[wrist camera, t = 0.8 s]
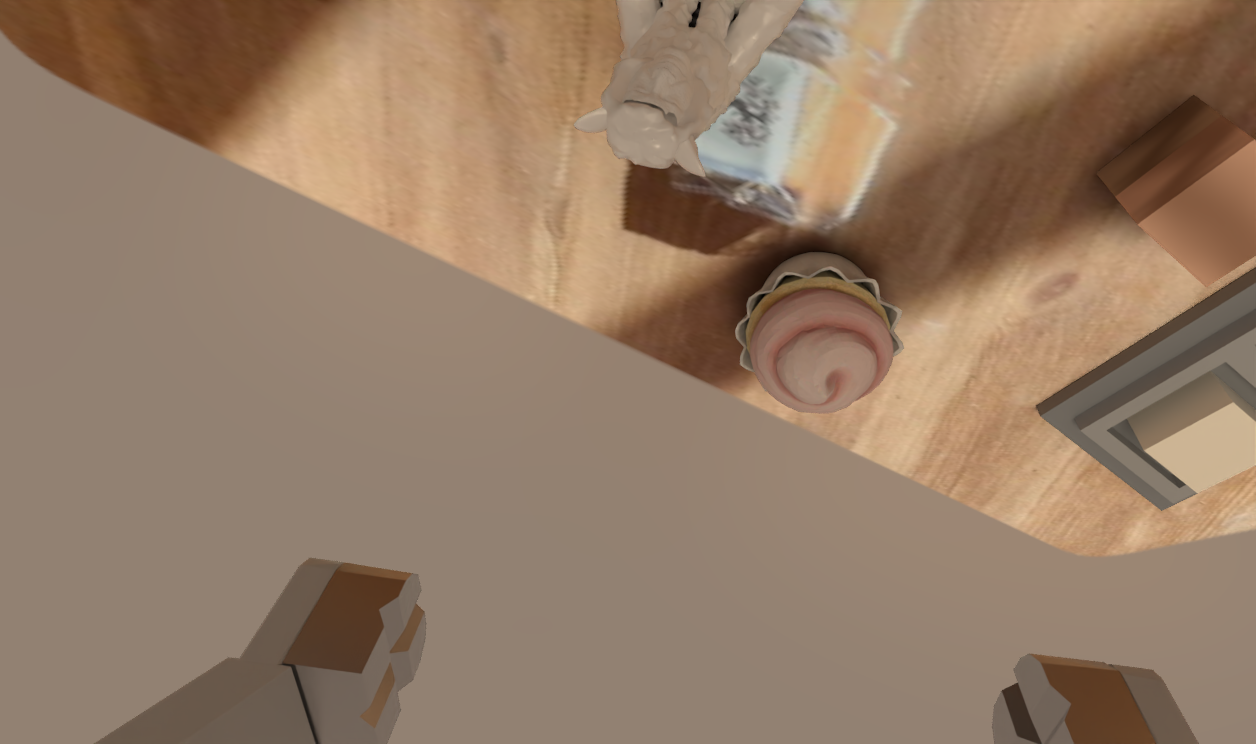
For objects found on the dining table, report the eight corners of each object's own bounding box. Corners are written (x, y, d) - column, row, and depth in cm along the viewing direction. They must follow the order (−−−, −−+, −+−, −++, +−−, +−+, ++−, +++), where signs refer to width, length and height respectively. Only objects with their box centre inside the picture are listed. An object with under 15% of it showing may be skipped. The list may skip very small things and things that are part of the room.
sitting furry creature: (813, -30, 35) (820, 31, 25) (758, 143, 40) (747, 246, 31) (620, -80, 35) (556, -37, 26) (591, 99, 40) (529, 188, 31)
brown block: (1193, 94, 35) (1254, 139, 30) (1256, 158, 36) (1325, 211, 31) (1095, 172, 38) (1137, 224, 33) (1157, 229, 39) (1205, 287, 34)
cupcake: (878, 363, 47) (895, 474, 39) (733, 348, 49) (721, 452, 41) (913, 232, 41) (940, 331, 34) (747, 219, 43) (736, 311, 35)
